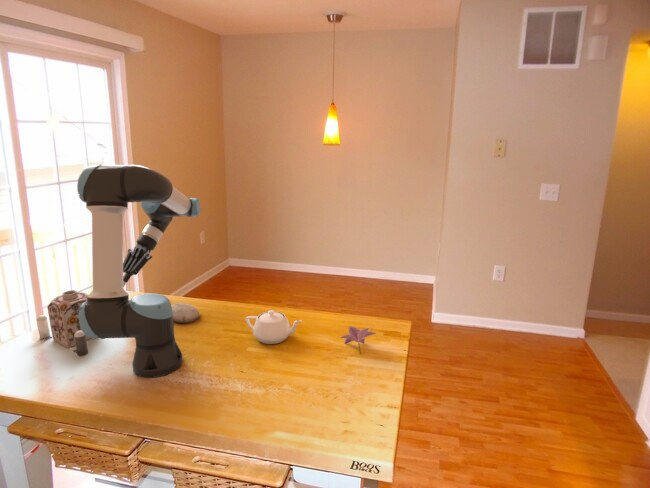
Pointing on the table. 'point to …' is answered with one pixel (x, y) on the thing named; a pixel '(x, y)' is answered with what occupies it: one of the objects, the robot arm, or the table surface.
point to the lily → (357, 335)
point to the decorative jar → (66, 317)
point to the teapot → (271, 327)
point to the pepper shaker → (81, 343)
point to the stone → (184, 313)
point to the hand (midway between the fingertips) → (118, 288)
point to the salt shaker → (43, 326)
